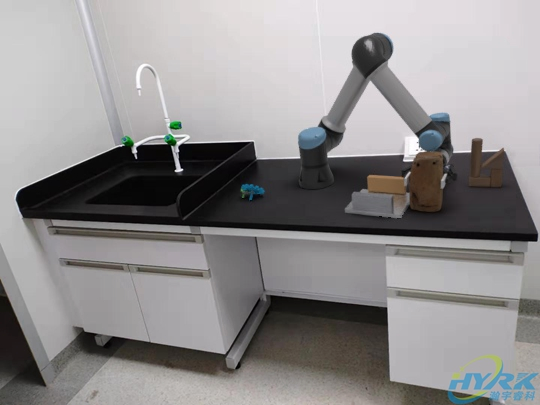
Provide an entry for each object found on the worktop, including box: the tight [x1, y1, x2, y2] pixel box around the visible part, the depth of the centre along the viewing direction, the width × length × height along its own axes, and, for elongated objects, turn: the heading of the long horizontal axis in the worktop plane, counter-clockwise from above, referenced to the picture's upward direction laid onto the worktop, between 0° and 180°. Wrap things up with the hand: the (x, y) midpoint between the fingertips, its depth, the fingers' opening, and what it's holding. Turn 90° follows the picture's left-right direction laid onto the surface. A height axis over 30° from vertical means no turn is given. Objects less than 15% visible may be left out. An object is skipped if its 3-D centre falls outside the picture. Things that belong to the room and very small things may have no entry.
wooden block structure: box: [468, 137, 505, 188], centre depth 152 cm, size 4×11×18 cm, turn 67°
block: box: [408, 151, 444, 213], centre depth 141 cm, size 11×8×20 cm
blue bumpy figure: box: [240, 183, 266, 201], centre depth 175 cm, size 11×6×10 cm
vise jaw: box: [366, 174, 407, 194], centre depth 158 cm, size 14×2×6 cm, turn 59°
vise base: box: [344, 188, 410, 219], centre depth 152 cm, size 20×19×8 cm
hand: (423, 183), depth 138 cm, fingers closed on block, 11 cm apart
